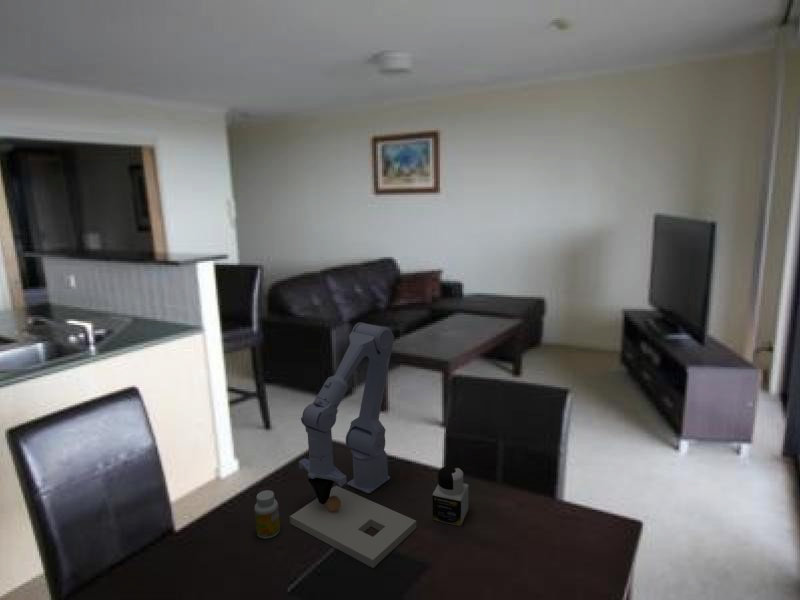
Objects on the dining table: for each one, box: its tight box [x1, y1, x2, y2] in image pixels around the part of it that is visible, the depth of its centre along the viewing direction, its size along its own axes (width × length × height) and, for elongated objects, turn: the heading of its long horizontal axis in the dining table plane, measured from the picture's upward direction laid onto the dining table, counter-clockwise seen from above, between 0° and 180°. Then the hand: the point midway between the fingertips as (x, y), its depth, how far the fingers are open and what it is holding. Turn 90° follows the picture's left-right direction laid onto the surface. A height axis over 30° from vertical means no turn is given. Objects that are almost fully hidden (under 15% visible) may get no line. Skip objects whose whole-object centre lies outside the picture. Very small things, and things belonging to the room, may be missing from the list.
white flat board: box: [289, 485, 417, 569], centre depth 123 cm, size 26×16×2 cm, turn 53°
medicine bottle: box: [432, 465, 469, 527], centre depth 125 cm, size 7×7×12 cm
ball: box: [326, 496, 341, 511], centre depth 126 cm, size 4×4×4 cm
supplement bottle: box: [253, 489, 281, 539], centre depth 121 cm, size 5×5×10 cm
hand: (323, 501), depth 128 cm, fingers closed
